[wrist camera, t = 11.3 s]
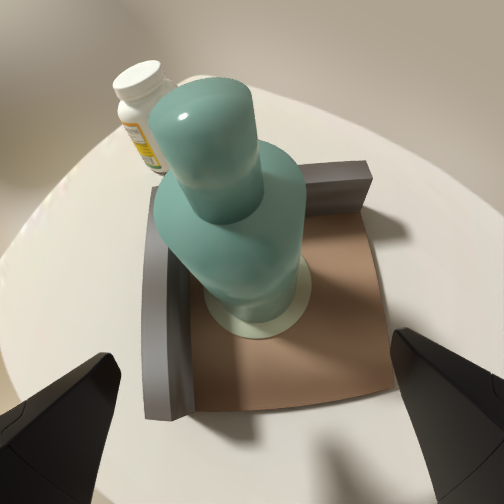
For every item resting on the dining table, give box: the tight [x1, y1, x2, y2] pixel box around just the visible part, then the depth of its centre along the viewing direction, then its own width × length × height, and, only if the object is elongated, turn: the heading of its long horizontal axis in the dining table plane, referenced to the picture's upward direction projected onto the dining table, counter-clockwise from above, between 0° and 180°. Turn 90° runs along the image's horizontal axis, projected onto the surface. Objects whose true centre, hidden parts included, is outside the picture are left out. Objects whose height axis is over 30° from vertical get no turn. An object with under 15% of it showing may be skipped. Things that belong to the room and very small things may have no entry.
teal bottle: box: [148, 77, 306, 323], centre depth 12 cm, size 5×5×14 cm
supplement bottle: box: [113, 60, 178, 172], centre depth 21 cm, size 5×5×10 cm
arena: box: [141, 160, 394, 421], centre depth 16 cm, size 14×14×5 cm
